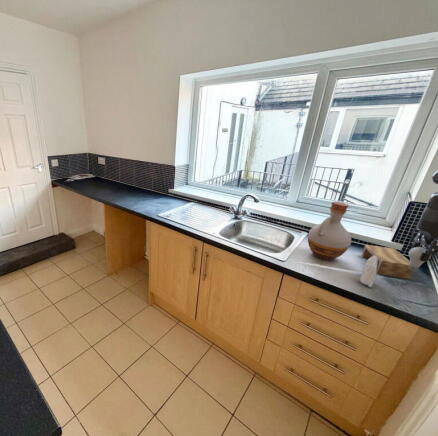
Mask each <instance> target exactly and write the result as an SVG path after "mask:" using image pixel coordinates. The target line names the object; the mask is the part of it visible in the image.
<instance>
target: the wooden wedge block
mask: <svg viewBox="0 0 438 436" xmlns="http://www.w3.org/2000/svg"><path fill="white" fill-rule="evenodd" d="M363 247H364V248H363V250H362V252H361V257H362V258H367V259H369V258H371V257H372V256H375V257H377V259H378V264H377V268H376V274H378V275H384V276H388V277H389V276H390V277H395V278H400V279H405V280H406V279H407V280H410V279H412V276H413V273H414V271H411V270H410V269H409V265H410V264H409V263H410V259H408V258H407V257H406V256H404V255H403V254H402V253H401V252H400V251H398V250H397V249H396V248H394V247H387V246H386V247H385V246H378V245H372V244H365V245H364V246H363Z"/></svg>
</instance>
